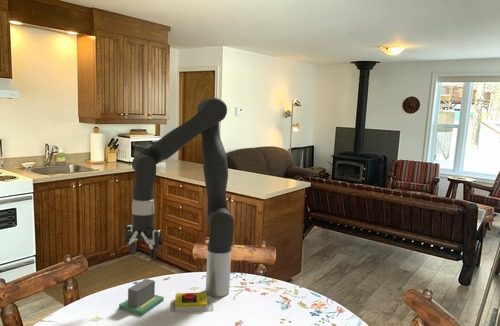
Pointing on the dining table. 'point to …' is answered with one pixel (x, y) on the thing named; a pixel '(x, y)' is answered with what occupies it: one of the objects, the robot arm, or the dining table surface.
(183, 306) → the emergency button
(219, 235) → the robot arm
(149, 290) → the block
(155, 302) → the header board
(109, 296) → the dining table surface
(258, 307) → the dining table surface
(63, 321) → the dining table surface
